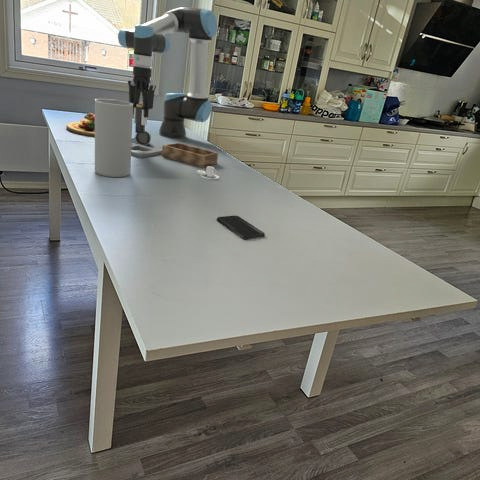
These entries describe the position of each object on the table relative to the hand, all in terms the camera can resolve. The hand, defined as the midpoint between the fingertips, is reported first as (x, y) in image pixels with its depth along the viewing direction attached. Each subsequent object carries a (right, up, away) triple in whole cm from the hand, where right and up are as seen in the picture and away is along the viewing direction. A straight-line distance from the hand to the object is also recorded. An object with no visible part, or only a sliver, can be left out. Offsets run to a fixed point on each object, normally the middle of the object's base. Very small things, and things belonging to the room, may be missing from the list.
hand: (140, 123), depth 179 cm
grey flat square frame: (-2, -12, +5) cm, 13 cm away
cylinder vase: (-3, -27, -30) cm, 40 cm away
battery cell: (0, -4, +2) cm, 4 cm away
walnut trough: (+21, -15, +5) cm, 26 cm away
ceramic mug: (-5, -4, +21) cm, 22 cm away
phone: (+44, -48, -61) cm, 89 cm away
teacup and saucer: (+31, -25, -12) cm, 41 cm away
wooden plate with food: (-30, +5, +35) cm, 46 cm away
